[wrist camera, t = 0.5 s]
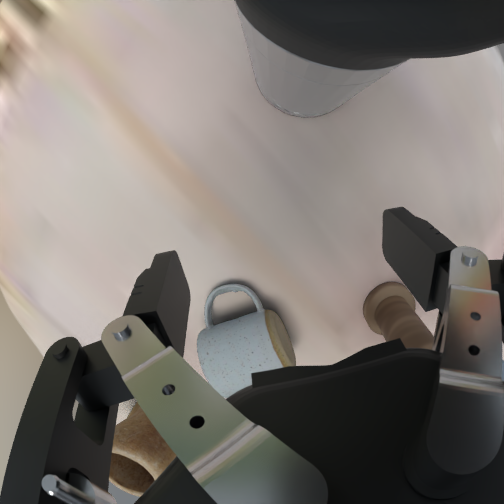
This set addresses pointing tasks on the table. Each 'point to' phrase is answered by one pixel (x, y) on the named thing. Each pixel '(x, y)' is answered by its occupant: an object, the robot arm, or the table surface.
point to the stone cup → (138, 453)
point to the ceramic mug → (242, 345)
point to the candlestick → (396, 316)
